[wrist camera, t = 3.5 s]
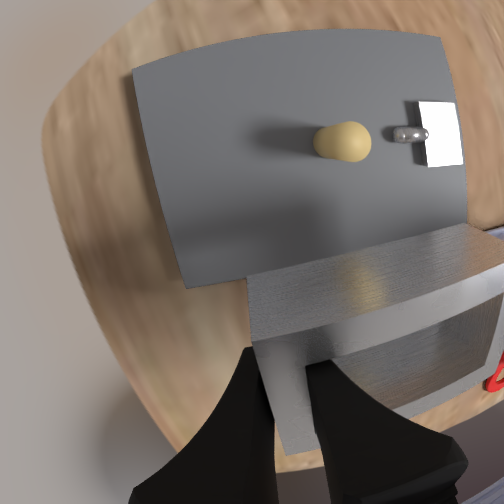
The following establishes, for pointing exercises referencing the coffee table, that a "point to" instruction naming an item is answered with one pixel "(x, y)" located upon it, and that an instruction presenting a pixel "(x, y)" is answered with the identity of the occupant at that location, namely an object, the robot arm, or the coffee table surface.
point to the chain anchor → (433, 133)
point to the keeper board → (295, 148)
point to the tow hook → (491, 381)
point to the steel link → (381, 324)
